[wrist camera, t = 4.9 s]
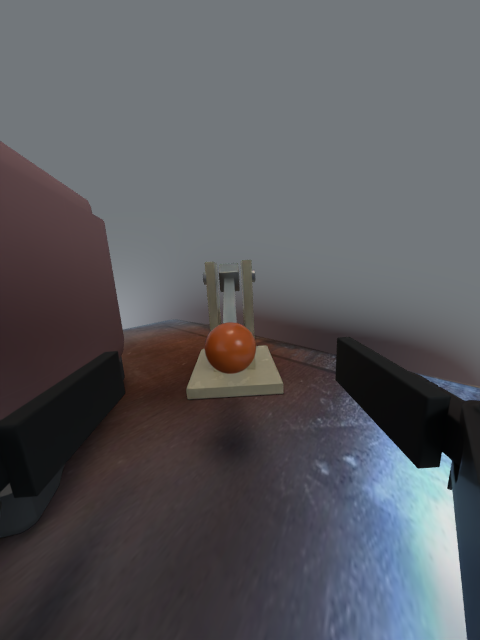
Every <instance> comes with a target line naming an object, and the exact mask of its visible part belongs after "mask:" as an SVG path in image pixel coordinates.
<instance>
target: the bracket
mask: <svg viewBox="0 0 480 640" xmlns="http://www.w3.org/2000/svg"><path fill="white" fill-rule="evenodd" d="M205 271H206V272H205V273H203V282H204V284H205V285H207V297H208V309H209V321H210V332H211V331H212V330H213V329H214V328H215V327H216V326H218V325H220V324H221V316H220V302H219V288H218V274H217V263H215V262H205ZM241 278H242V297H243V319H244V326H245V327H246V328H247V329H248V330H249V331H250V332H251V333H252V335H253V337H254V317H253V292H252V282H255V271H254V270H252V266H251V260H242V261H241ZM186 392H187V399H204V398H220V397H236V396H252V395H268V394H283V382H282V380H281V377H280V375H279V373H278V370H277V368H276V366H275V363H274V361H273V359H272V357H271V354H270V352H269V350H268V347H267V346H256V354H255V357H254V359H253V361H252V363H251V364H250V365H249V366H248V367H247V368H246V369H245V370H243V371H241V372H239V373H235V374H226V373H222V372H220V371H218V370H216V369H215V368H213V367H212V365H211V364H210V363H209V361H208V360H207V357H206V354H205V349H202V350H201V352H200V355H199V358H198V360H197V363H196V365H195V368H194V371H193V373H192V376H191V378H190V381H189V383H188V386H187V389H186Z"/></svg>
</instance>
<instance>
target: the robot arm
mask: <svg viewBox="0 0 480 640" xmlns="http://www.w3.org/2000/svg"><path fill="white" fill-rule="evenodd" d="M336 381H337V382H338V383H339V384H340V385H341V386H342V387H343V388H344V389H345V390H346V392H347V393H348V394H349V395H350V396H351V397H352V398H353V399H354V400H355V401H356V402H357V403H358V404H359V406H360V407H361V408H362V409H363V410H364V411H365V412H366V413H367V414H368V415H369V416H370V417H371V418H372V420H373V421H374V422H375V423H376V424H377V425H378V426H379V427H380V428H381V429H382V430H383V431H384V432H385V433H386V435H387V436H388V437H389V438H390V439H391V440H392V441H393V442H394V443H395V444H396V445H397V446H398V447H399V449H400V450H401V451H402V452H403V453H404V454H405V455H406V456H407V457H408V458H409V459H410V460H411V461H412V463H413V464H414V465H415V466H416V467H417V468H431V467H439V466H440V460H441V454H442V452H443V453H444V454H446V455H447V456H448V457H449V458H450V459H451V460H452V464H451V470H450V476H449V481H448V487H447V489H450V490H453V500H454V510H455V520H456V531H457V541H458V551H459V561H460V571H461V581H462V591H463V601H464V611H465V622H466V632H467V640H480V401H477V400H468V401H464V400H462V399H461V398H459V397H457V396H455V395H454V394H452V393H450V392H448V391H446V390H445V389H443V388H441V387H438V385H436V384H434V383H432V382H430V381H429V380H427V379H425V378H424V377H422V376H420V375H418V374H415V373H412V372H410V371H407V370H405V369H404V368H402V367H400V366H398V365H397V364H395V363H393V362H392V361H390V360H388V359H387V358H385V357H383V356H381V355H380V354H378V353H376V352H375V351H373V350H371V349H369V348H368V347H366V346H364V345H362V344H361V343H359V342H357V341H356V340H354V339H352V338H350V337H343V338H337V357H336ZM124 394H125V389H124V383H123V377H122V372H121V366H120V360H119V355H118V351H111V352H104V353H102V354H101V355H99V356H98V357H96V358H95V359H93V360H92V361H90V362H89V363H87V364H86V365H84V366H82V367H81V368H79V369H78V370H76V371H75V372H73V373H72V374H70V375H69V376H67V377H66V378H64V379H63V380H61V381H60V382H58V383H57V384H55V385H54V386H52V387H51V388H49V389H47V390H46V391H44V392H43V393H41V394H40V395H38V396H37V397H35V398H34V399H32V400H31V401H29V402H28V403H26V404H25V405H23V406H22V407H20V408H19V409H17V410H15V411H14V412H12V413H11V414H9V415H8V416H6V417H5V418H3V419H2V420H0V492H1V491H2V490H3V489H4V488H5V487H6V486H7V485H8V484H9V483H10V486H11V490H12V493H13V496H14V498H21V497H35V496H38V495H39V494H40V493H41V491H42V490H43V489H44V488H45V487H46V486H47V484H48V483H49V482H50V481H51V480H52V479H53V477H54V476H55V475H56V474H57V473H58V472H59V470H60V469H61V468H62V467H63V466H64V465H65V463H66V462H67V461H68V460H69V459H70V457H71V456H72V455H73V454H74V453H75V452H76V450H77V449H78V448H79V447H80V446H81V445H82V443H83V442H84V441H85V440H86V439H87V438H88V436H89V435H90V434H91V433H92V432H93V431H94V429H95V428H96V427H97V426H98V425H99V423H100V422H101V421H102V420H103V419H104V418H105V416H106V415H107V414H108V413H109V412H110V411H111V409H112V408H113V407H114V406H115V405H116V404H117V402H118V401H119V400H120V399H121V398H122V397H123V395H124ZM1 504H2V503H1V500H0V513H1Z"/></svg>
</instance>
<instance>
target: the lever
mask: <svg viewBox="0 0 480 640" xmlns="http://www.w3.org/2000/svg"><path fill="white" fill-rule="evenodd" d="M219 280H220V290H221V292H224V304H223V305H224V306H223V324H220V325H218V326H216V327H215V328H214V329H213V330H212V331H211V332H210V333H209V335H208V337H207V339H206V342H205V354H206V357H207V360H208V361H209V363H210V364H211V365H212V367H213V368H215V369H216V370H218V371H220V372H222V373H226V374H235V373H239V372H241V371H243V370H245V369H246V368H247V367H248V366H249V365H250V364H251V363H252V361H253V359H254V357H255V354H256V342H255V339H254V337H253V335H252V333H251V332H250V331H249V330H248V329H247V328H246V327H245V326H243V325H241V324H238V323H237V318H236V301H235V291H239V270H238V263H231V264H220V265H219Z"/></svg>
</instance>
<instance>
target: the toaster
mask: <svg viewBox="0 0 480 640" xmlns="http://www.w3.org/2000/svg"><path fill="white" fill-rule="evenodd" d="M123 347H124V336H123V330H122V324H121V318H120V312H119V306H118V300H117V294H116V289H115V282H114V277H113V271H112V265H111V259H110V253H109V247H108V242H107V235H106V229H105V223H104V221H103V220H102V219H100V218H98V217H97V216H95V215H93V214H92V210H91V207H90V204H89V202H88V201H87V200H86V199H84V198H83V197H81V196H80V195H78V194H77V193H76V192H74V191H73V190H71V189H70V188H68V187H67V186H65V185H64V184H62V183H61V182H59V181H58V180H56V179H55V178H53V177H52V176H51V175H49V174H48V173H46V172H45V171H43V170H42V169H40V168H39V167H37V166H36V165H34V164H33V163H31V162H30V161H28V160H27V159H26V158H24V157H23V156H21V155H20V154H18V153H17V152H15V151H14V150H12V149H11V148H10V147H8V146H7V145H5V144H4V143H2V142H1V141H0V420H2V419H3V418H5V417H6V416H8V415H9V414H11V413H12V412H14V411H15V410H17V409H19V408H20V407H22V406H23V405H25V404H26V403H28V402H29V401H31V400H32V399H34V398H35V397H37V396H38V395H40V394H41V393H43V392H44V391H46V390H47V389H49V388H51V387H52V386H54V385H55V384H57V383H58V382H60V381H61V380H63V379H64V378H66V377H67V376H69V375H70V374H72V373H73V372H75V371H76V370H78V369H79V368H81V367H82V366H84V365H86V364H87V363H89V362H90V361H92V360H93V359H95V358H96V357H98V356H99V355H101V354H102V353H104V352H111V351H118V355H119V360H120V366H121V372H122V377H123V380H124V370H123V364H122V358H121V355H122V352H123ZM63 468H64V466H63V467H62V468H61V469H60V470H59V472H58V473H57V474H56V475H55V476H54V477H53V479H52V480H51V481H50V482H49V483H48V484H47V486H46V487H45V488H44V489H43V490H42V491H41V493H40V494H39V495H38V496H35V497H21V498H14V496H13V493H12V490H11V486H10V483H9V484H8V485H7V486H6V487H5V488H4V489H3V490H2V491H1V492H0V500H1V503H2V504H1V513H0V538H2V537H6V536H11V535H15V534H19V533H22V532H24V531H26V530H28V529H29V528H31V527H32V526H33V525H34V524H35V523H36V522H37V521H38V520H39V518H40V517H41V515H42V513H43V512H44V510H45V509H46V507H47V505H48V504H49V502H50V500H51V499H52V497H53V495H54V494H55V492H56V490H57V489H58V487H59V485H60V480H61V476H62V472H63Z"/></svg>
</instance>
